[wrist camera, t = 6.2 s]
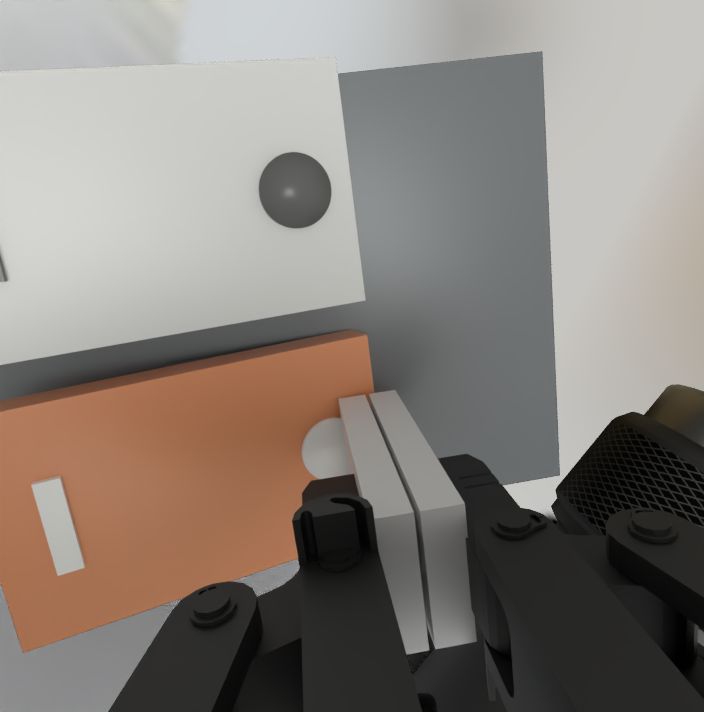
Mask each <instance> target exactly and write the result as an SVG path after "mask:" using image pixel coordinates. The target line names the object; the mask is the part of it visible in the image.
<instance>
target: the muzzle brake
mask: <svg viewBox="0 0 704 712" xmlns="http://www.w3.org/2000/svg"><path fill="white" fill-rule="evenodd" d="M556 494H557V499H556V501H555V502H554V503H553V505H552V506H551V507H552V510H553V512H554V514H555V516H556V518H557V521H558V522H557V523H556V524H555V525H556V527H557V528H558V529H559V530H560V531H561V532H562V533H563V534H571V535H593V536H606V523H607V521H608V519H609V517H610V516H612V515H613V514H615V513H617V512H619V511H623V510H628V509H633V508H642V509H643V508H652V509H655V510H660V511H665V512H669V513H672V514H674V515H677V516H679V517H682V518H684V519H686V520H688V521H690V522H692V523H694V524H696V525H697V526H699V527H701V528H703V529H704V392H703V391H701V390H698V389H695V388H691V387H687V386H682V385H670V386H668V387H667V388H666V389H665V390H664V392H663V393H662V394H661V395H660V396H659V398H658V399H657V400H656V401H655V402H654V404H653V405H652V406H651V407H650V408H649V410H648V411H647V412H646V413H645V415H642V414H639V413H636V412H630V413H627V414H625V415H622V416H619V417H616V418H615V419H613V420H612V421H611V422H610V423H609V425H608V426H607V427H606V428H605V429H604V431H603V432H602V433H601V434H600V436H599V437H598V438H597V439H596V440H595V442H594V443H593V444H592V445H591V446H590V448H589V449H588V450H587V451H586V453H585V454H584V455H583V456H582V457H581V459H580V460H579V461H578V462H577V464H576V465H575V466H574V467H573V468H572V470H571V471H570V472H569V473H568V475H567V476H566V477H565V478H564V479H563V481H562V482H561V483H560V484H559V485H558V487H557V488H556ZM475 626H476V638H477V642H472V643H467V644H462V645H456V646H451V647H446V648H440V649H435V648H434V650H433V651H432V652H431V653H430V654H429V656H428V657H427V658H426V659H425V661H424V662H423V663H422V664H421V665H420V667H419V668H418V669H417V670H416V671H415V673H414V674H413V675H412V677H413V680H414V684H415V688H416V691H417V695H418V699H419V702H420V706H421V710H422V712H507V711H506V708H505V706H504V704H503V701H502V699H501V697H500V694H499V692H498V689H497V687H495V692H496V700H495V701H490V700H489V694H488V685H487V673H486V661H485V649H484V637H483V633H482V631H481V629H480V627H479V625H478V622H477V620H476V618H475ZM698 643H700V644H701V645H702V646H704V630H703V629H702V628H700V627H699V626H698Z"/></svg>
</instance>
